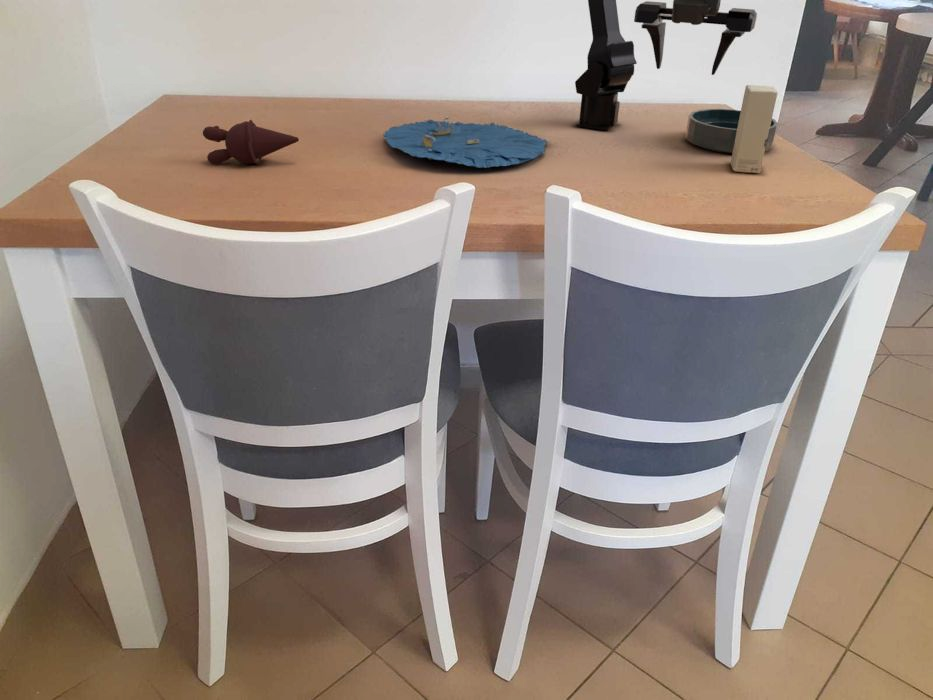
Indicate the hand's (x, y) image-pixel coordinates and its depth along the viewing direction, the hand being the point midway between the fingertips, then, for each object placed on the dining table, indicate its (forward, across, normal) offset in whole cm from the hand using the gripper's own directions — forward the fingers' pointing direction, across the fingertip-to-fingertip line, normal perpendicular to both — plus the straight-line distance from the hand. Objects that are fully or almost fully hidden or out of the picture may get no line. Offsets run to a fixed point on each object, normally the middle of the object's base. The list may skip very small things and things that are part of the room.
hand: (685, 71), depth 125 cm
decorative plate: (+13, -33, -19) cm, 40 cm away
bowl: (+13, +9, +7) cm, 17 cm away
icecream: (+13, -58, -44) cm, 74 cm away
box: (+13, +13, -7) cm, 20 cm away
